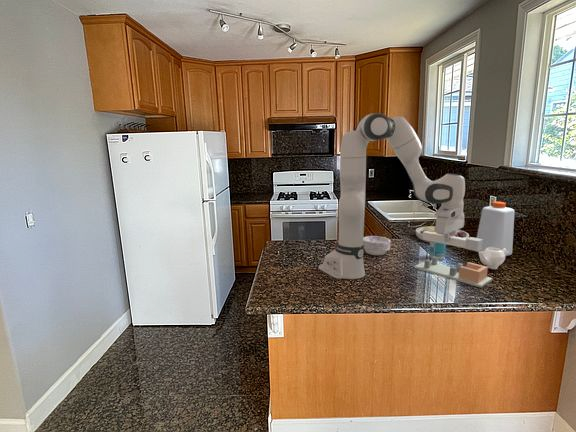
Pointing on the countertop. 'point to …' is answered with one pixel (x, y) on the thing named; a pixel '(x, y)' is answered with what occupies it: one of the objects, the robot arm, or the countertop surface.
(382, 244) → the paper bowls
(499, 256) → the teapot
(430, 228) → the bowl
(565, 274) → the countertop surface
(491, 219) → the plastic bottle
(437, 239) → the white long bar
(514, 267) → the countertop surface
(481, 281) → the board
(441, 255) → the pill bottle
